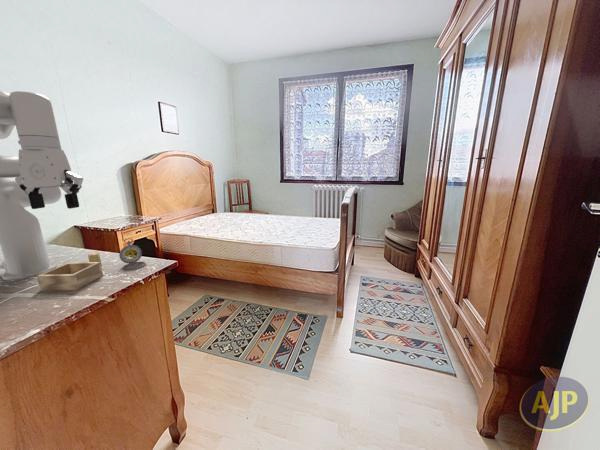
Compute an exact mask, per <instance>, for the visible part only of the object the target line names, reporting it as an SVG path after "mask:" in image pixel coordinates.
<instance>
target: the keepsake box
mask: <svg viewBox="0 0 600 450" xmlns="http://www.w3.org/2000/svg"><path fill="white" fill-rule="evenodd" d="M101 265H102V262H101V263H100V262H89V261H85V262H83V261H81V262H80V261H79V262H67V263H64V264H62V265H60V266H57V267H56V268H54V269H52V270H50V271H47V272H45V273H42V274H40V275H36V280H37V283H38V287H39V291H43V292H44V291H77V290H79V289H80V288H83V287H84V286H86V285H87V284H89V283H91V282H94V281H95V280H97V279H98V278H100V277H102V276H103V275H104V273H103V269H102V266H101Z"/></svg>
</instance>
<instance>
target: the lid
mask: <svg viewBox="0 0 600 450" xmlns="http://www.w3.org/2000/svg"><path fill="white" fill-rule="evenodd" d="M87 257H88V262H100V263H101V267H102V266H103V265H102V261H101V257H100V253H99V252H93V253H89V254H88V256H87Z"/></svg>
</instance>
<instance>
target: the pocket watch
mask: <svg viewBox="0 0 600 450" xmlns="http://www.w3.org/2000/svg"><path fill="white" fill-rule="evenodd" d="M126 240H128V241H126ZM130 240H131V241H130ZM133 240H134V239H133V238H125V239H124V240H123V242H124V243H125V244H127V245H126V246H124V247H123V248H121V250H120V252H119V256H118V257H119V259H120V260H121V261H122V262H123V263H125V264H126V265H123V267H122V268H123V270H125V271H133V270H138V269H141V268H143V267H145V266H146V265H147V263H146V262H145V261H140V259H141V258H142V255H143V251H142V249H141V248H140V247H139V246H138V245H135V244H131V243H133ZM136 264H142V265H141V266H138V267H133V268H126V267H128V266H131V265H136Z"/></svg>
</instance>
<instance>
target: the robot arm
mask: <svg viewBox="0 0 600 450" xmlns="http://www.w3.org/2000/svg"><path fill="white" fill-rule="evenodd" d="M14 128H16V132H17V137H18V144H19V146H20V147H21V149H18V155H17V156H16V155H0V249H1V253H2V255H3V259H4V261H2V263H1V264H0V270H1V269H3V270H4V271H5V272H4V273H3V274H2V275H1V279H2V280H4V281H10V280H11V281H12V280H21V279H25V278H26V279H27V278H32V277H35V276H36V277H37V276H38V275H40V274H42V273H45V272H47V271H50V270H52V269H54V268H57V267H58V265H57V264H56V262H50V259H49V256H48V252H47V248H46V243H45V241H44V235H43V232H42V229H41V225H40V220H39V219H38V217H36V215H34V214H33V213H32V212H30V211H28V210H27V209H26V208H29V207H31V210H37V209H44V208H45V207H46V205H51V204H55V203H57V202H59V201H60V200H61V197H62V192H61V189H62V191H64V192H65V194H64V199H65V203H66V204H65V205H66V207H67V209H76V208H80V202H79V197H78V194H79V193H80V190H81V188H82V187H83V186H82V184H83V181H84V178H83V176H80V175H78V174H76V173H74V172H72V170H71V169H72V168H71V166H70V165H71V164H70V163H69V160H68V157H67V155H66V153H65V150H64V149H62V146H61V142H60V137H59V132H58V127H57V123H56V118H55V113H54V108H53V105H52V102H51V100H50V99H49V98H48V97H46V96H45V95H43V94H41V93H37V92H36V93H35V92H30V91H18V90H16V91H12V92H10V93H8V92H6V91H2V90H0V140H4V139H7V138H8V137H10V136H11V133H12V132H13V130H14Z"/></svg>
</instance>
